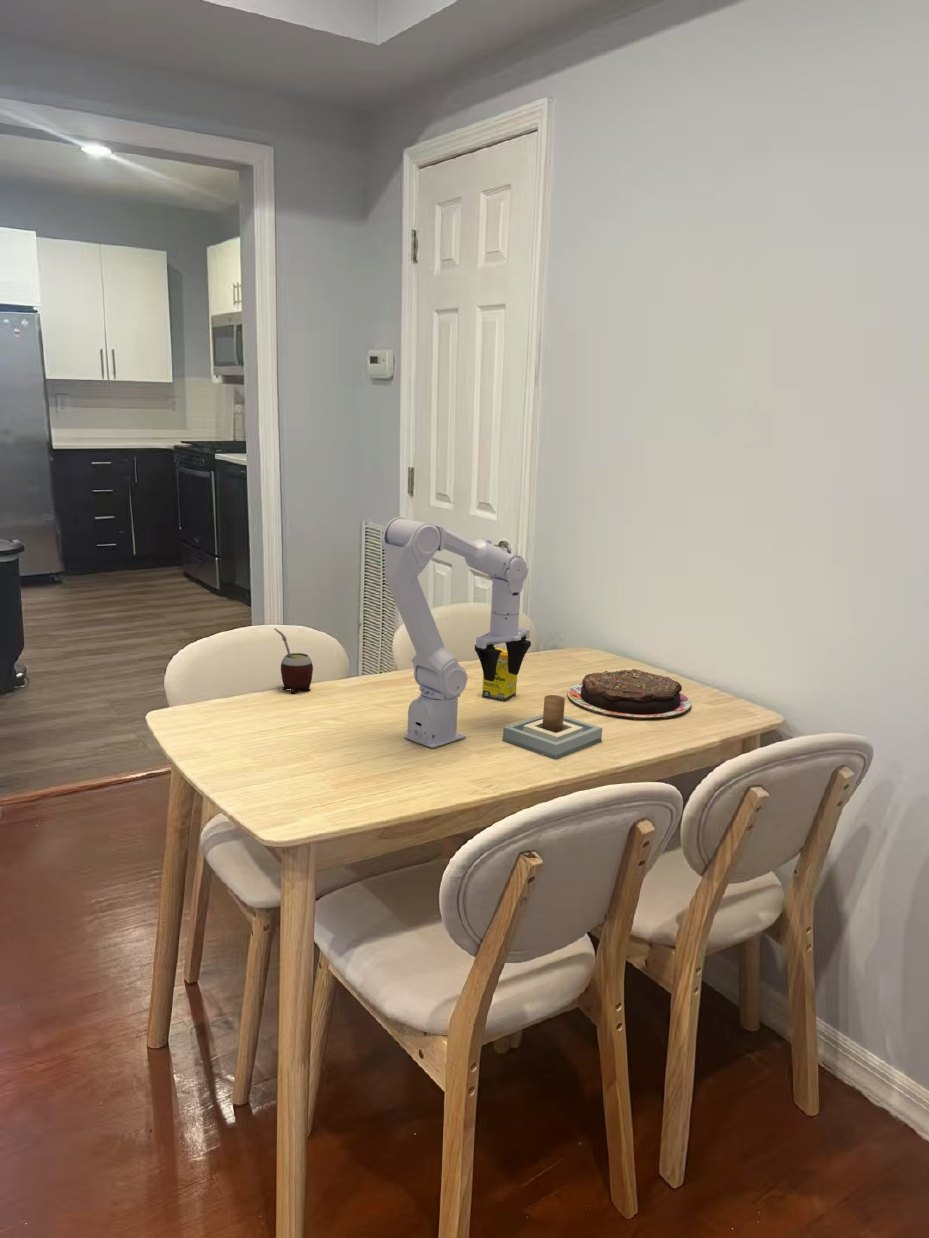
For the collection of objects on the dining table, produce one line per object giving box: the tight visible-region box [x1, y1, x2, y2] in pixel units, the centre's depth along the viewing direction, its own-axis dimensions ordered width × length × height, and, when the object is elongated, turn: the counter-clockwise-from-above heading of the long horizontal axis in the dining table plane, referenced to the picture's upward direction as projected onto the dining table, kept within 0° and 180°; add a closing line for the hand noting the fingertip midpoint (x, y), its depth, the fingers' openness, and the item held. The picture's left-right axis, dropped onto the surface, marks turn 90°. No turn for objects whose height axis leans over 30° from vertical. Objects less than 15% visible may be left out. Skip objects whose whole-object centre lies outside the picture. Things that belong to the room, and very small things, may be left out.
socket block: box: [523, 719, 583, 742], centre depth 179 cm, size 8×8×2 cm
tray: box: [502, 713, 603, 760], centre depth 179 cm, size 15×13×3 cm
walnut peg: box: [542, 694, 566, 733], centre depth 178 cm, size 4×4×8 cm
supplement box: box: [481, 645, 518, 703], centre depth 205 cm, size 6×6×11 cm
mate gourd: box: [273, 627, 314, 695], centre depth 202 cm, size 8×8×15 cm
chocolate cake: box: [566, 668, 692, 721], centre depth 207 cm, size 28×28×7 cm
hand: (501, 676), depth 186 cm, fingers open, 7 cm apart
